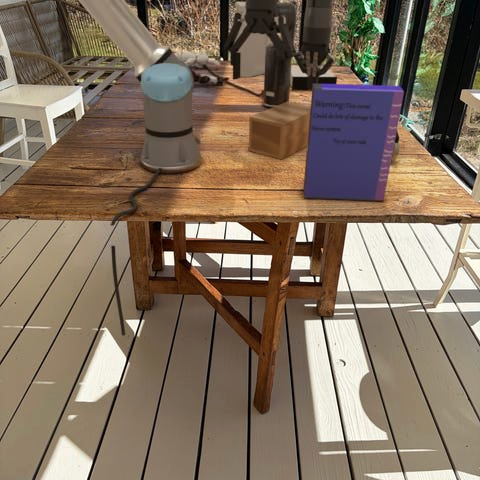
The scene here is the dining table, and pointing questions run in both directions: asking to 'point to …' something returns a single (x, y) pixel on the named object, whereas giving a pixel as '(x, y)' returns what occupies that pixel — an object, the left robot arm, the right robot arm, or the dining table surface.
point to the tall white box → (251, 49)
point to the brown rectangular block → (279, 130)
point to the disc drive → (301, 78)
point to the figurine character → (396, 146)
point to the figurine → (208, 78)
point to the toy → (195, 59)
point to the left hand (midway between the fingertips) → (258, 81)
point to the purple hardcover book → (351, 141)
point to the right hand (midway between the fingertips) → (311, 89)
